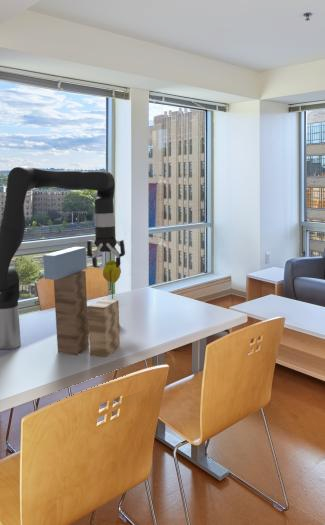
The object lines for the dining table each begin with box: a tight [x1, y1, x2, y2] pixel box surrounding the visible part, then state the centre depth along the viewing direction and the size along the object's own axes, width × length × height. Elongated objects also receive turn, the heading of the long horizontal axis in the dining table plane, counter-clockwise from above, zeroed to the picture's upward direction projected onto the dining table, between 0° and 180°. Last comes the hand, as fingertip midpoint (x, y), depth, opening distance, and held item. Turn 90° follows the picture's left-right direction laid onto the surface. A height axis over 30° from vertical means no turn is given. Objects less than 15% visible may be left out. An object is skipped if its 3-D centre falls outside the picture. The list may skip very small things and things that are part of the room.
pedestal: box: [53, 270, 90, 356], centre depth 188 cm, size 9×9×32 cm
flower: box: [102, 260, 122, 300], centre depth 223 cm, size 9×8×30 cm
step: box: [87, 298, 121, 358], centre depth 187 cm, size 12×7×20 cm, turn 158°
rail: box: [42, 246, 88, 281], centre depth 183 cm, size 22×5×9 cm, turn 158°
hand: (106, 267), depth 181 cm, fingers open, 8 cm apart
